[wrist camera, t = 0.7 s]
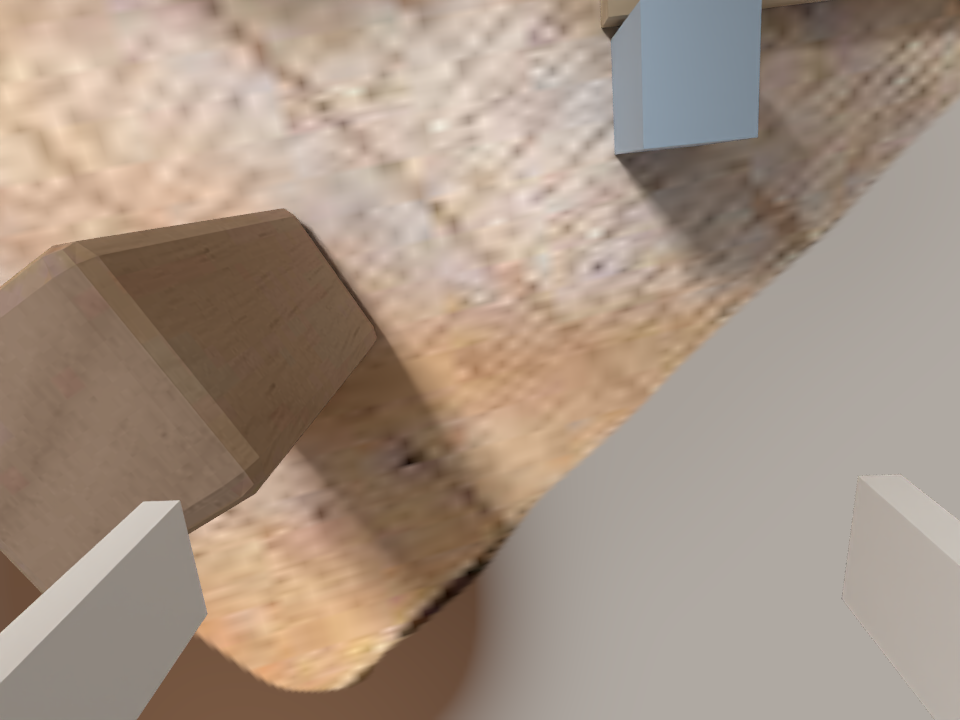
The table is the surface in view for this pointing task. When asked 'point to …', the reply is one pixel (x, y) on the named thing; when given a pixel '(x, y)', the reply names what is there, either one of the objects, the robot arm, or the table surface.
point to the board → (620, 3)
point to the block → (161, 376)
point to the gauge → (686, 74)
